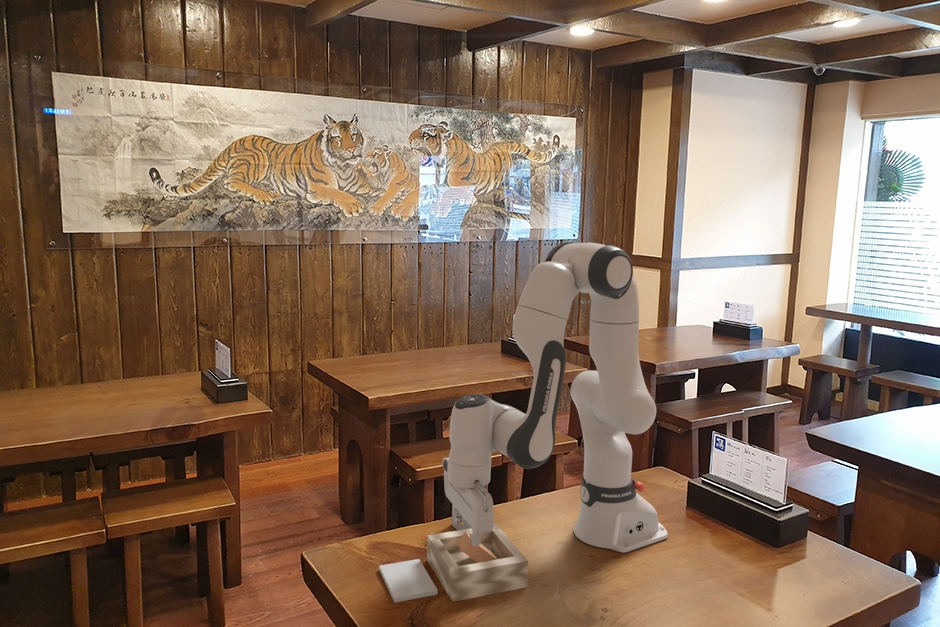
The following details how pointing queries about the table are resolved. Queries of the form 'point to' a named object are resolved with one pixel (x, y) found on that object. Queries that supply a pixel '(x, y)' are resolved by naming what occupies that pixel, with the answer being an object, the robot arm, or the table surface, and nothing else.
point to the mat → (407, 580)
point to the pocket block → (476, 565)
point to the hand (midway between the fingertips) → (466, 534)
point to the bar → (475, 550)
